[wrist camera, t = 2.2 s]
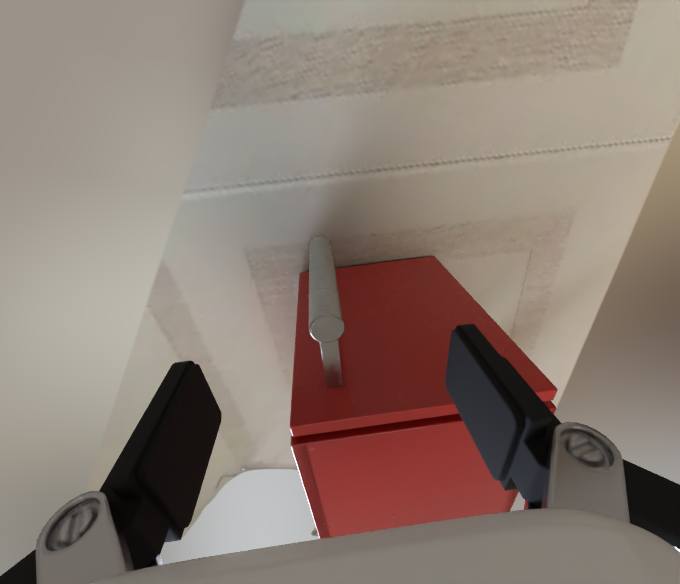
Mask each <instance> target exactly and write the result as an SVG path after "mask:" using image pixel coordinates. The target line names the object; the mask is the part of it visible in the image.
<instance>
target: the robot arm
mask: <svg viewBox="0 0 680 584" xmlns="http://www.w3.org/2000/svg"><path fill="white" fill-rule="evenodd" d="M445 385H446V389H447V391H448V393H449V395H450V397H451V399H452V400H453V402H454V404H455V406H456V408H457V410H458V412H459V414H460V416H461V418H462V420H463V422H464V424H465V425H466V427H467V429H468V431H469V433H470V435H471V437H472V439H473V441H474V443H475V445H476V447H477V449H478V451H479V452H480V454H481V456H482V458H483V460H484V462H485V464H486V466H487V468H488V470H489V472H490V474H491V475H492V477H493V478H494V479H495V480H496V481H498V480H499V481H500V483H501V485H502V487H503V489H504V490H505V491H507V490H514V489H518V490H519V492H520V494H521V495H522V497H523V498H524V499H525V506H524V510H518V511H510V512H502V513H494V514H486V515H478V516H470V517H463V518H457V519H450V520H443V521H436V522H430V523H423V524H416V525H410V526H403V527H396V528H389V529H383V530H376V531H370V532H363V533H357V534H350V535H344V536H337V537H331V538H324V539H318V540H311V541H305V542H298V543H292V544H285V545H279V546H273V547H266V548H261V549H254V550H248V551H242V552H235V553H229V554H223V555H216V556H210V557H204V558H198V559H192V560H187V561H181V562H176V563H170V564H164V565H163V563H162V560H161V557H160V553H161V550H162V547H163V544H164V542H171V541H177V540H181V537H182V534H183V531H184V528H186V527H188V526H189V524H190V522H191V519H192V516H193V513H194V510H195V506H196V503H197V500H198V496H199V493H200V490H201V486H202V483H203V480H204V476H205V473H206V470H207V466H208V463H209V460H210V456H211V453H212V450H213V446H214V443H215V440H216V436H217V433H218V430H219V426H220V423H221V411H220V409H219V407H218V404H217V402H216V400H215V398H214V396H213V394H212V392H211V389H210V387H209V385H208V383H207V381H206V379H205V377H204V374H203V372H202V370H201V368H200V366H199V365H198V364H194V362H193V361H185V362H177V363H174V364H173V365H172V366H171V368H170V369H169V371H168V373H167V375H166V376H165V378H164V380H163V382H162V383H161V385H160V387H159V389H158V390H157V392H156V394H155V396H154V397H153V399H152V401H151V402H150V404H149V406H148V408H147V409H146V411H145V413H144V414H143V416H142V418H141V420H140V421H139V423H138V425H137V426H136V428H135V430H134V432H133V433H132V435H131V437H130V439H129V440H128V442H127V444H126V446H125V447H124V449H123V451H122V452H121V454H120V456H119V458H118V459H117V461H116V463H115V465H114V466H113V468H112V470H111V472H110V473H109V475H108V477H107V479H106V480H105V482H104V484H103V485H102V487H101V489H100V491H90V492H87V493H84V494H81V495H79V496H77V497H76V498H74V499H72V500H70V501H69V502H68V503H66V504H65V505H64V506H62V507H61V508H60V509H59V510H58V511H57V512H56V513H55V514H54V515H53V516H52V517H51V518H50V519H49V521H48V522H47V523H46V525H45V526H44V528H43V529H42V531H41V533H40V535H39V537H38V539H37V544H36V549H35V550H34V551H32V552H31V553H30V554H29V555H27V556H26V557H25V558H23V559H22V560H21V561H20V562H18V563H17V564H16V565H14V566H13V567H12V568H11V569H9V570H8V571H7V572H5V573H4V574H3V575H2V576H0V584H680V485H679V484H677V483H675V482H672V481H670V480H668V479H666V478H664V477H661V476H659V475H657V474H655V473H652V472H650V471H648V470H646V469H644V468H641V467H639V466H637V465H635V464H632V463H630V462H628V461H626V460H624V459H622V457H621V454H620V452H619V450H618V449H617V447H616V446H615V445H614V444H613V443H612V442H611V441H610V440H609V439H608V438H607V437H606V436H605V435H603V434H601V433H600V432H598V431H597V430H595V429H593V428H591V427H589V426H587V425H583V424H579V423H575V422H566V423H561V422H560V421H559V420H558V419H557V418H556V417H555V415H554V414H553V413H552V412H551V411H550V409H549V408H548V407H547V406H546V405H545V404H544V402H543V401H542V400H541V399H540V398H539V396H538V395H537V394H536V393H535V392H534V391H533V389H532V388H531V387H530V386H529V385H528V383H527V382H526V381H525V380H524V379H523V377H522V376H521V375H520V374H519V373H518V372H517V370H516V369H515V368H514V367H513V366H512V364H511V363H510V362H509V361H508V360H507V359H506V358H505V357H503V356H501V355H500V354H499V353H498V352H497V351H496V349H495V348H494V347H493V346H492V345H491V343H490V342H489V341H488V340H487V339H486V337H485V336H484V335H483V334H482V333H481V331H480V330H479V329H478V328H477V327H476V325H475V324H472V323H471V324H464V325H457V326H456V328H455V330H452V331H451V337H450V345H449V353H448V361H447V368H446V376H445Z"/></svg>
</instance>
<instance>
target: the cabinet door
mask: <svg viewBox="0 0 680 584" xmlns="http://www.w3.org/2000/svg"><path fill="white" fill-rule="evenodd" d="M471 323H472V324H475V325H476V327H477V328H478V329H479V330H480V331H481V333H482V334H483V335H484V336H485V337H486V339H487V340H488V341H489V342H490V343H491V345H492V346H493V347H494V348H495V349H496V351H497V352H498V353H499V354H500V355H501V356H503V357H505V358H506V359H507V360H508V361H509V362H510V363H511V364H512V366H513V367H514V368H515V369H516V370H517V372H518V373H519V374H520V375H521V376H522V377H523V379H524V380H525V381H526V382H527V383H528V385H529V386H530V387H531V388H532V389H533V391H534V392H535V393H536V394H537V395H538V396H539V398H540V399H541V400H542V401H543V402H544V401H551V400H553V399H554V397H555V395H556V392H557V388H556V387H555V386H554V385H553V384H552V383H551V382H550V380H549V379H548V378H547V377H546V376H545V375H544V374H543V373H542V372H541V371H540V370H539V369H538V368H537V366H536V365H535V364H534V363H533V362H532V361H531V360H530V359H529V358H528V357H527V356H526V355H525V354H524V352H523V351H522V350H521V349H520V348H519V347H518V346H517V345H516V344H515V343H514V342H513V341H512V340H511V338H510V337H509V336H508V335H507V334H506V333H505V332H504V331H503V330H502V329H501V328H500V327H499V326H498V324H497V323H496V322H495V321H494V320H493V319H492V318H491V317H490V316H489V315H488V314H487V313H486V312H485V310H484V309H483V308H482V307H481V306H480V305H479V304H478V303H477V302H476V301H475V300H474V299H473V298H472V296H471V295H470V294H469V293H468V292H467V291H466V290H465V289H464V288H463V287H462V286H461V285H460V283H459V282H458V281H457V280H456V279H455V278H454V277H453V276H452V275H451V274H450V273H449V272H448V271H447V269H446V268H445V267H444V266H443V265H442V264H441V263H440V262H439V261H438V260H437V259H436V258H435V257H434V256H431V257H423V258H415V259H407V260H399V261H391V262H383V263H375V264H367V265H359V266H351V267H343V268H335V265H334V259H333V254H332V248H331V243H330V241H329V239H328V238H326V237H325V236H316V237H314V238H312V239H311V241H310V243H309V272H303V273H300V277H299V292H298V307H297V323H296V338H295V354H294V369H293V384H292V400H291V415H290V429H291V433H292V436H293V437H297V436H304V435H311V434H319V433H326V432H333V431H340V430H347V429H354V428H361V427H368V426H375V425H382V424H389V423H396V422H403V421H410V420H417V419H424V418H431V417H438V416H446V415H453V414H459V412H458V410H457V408H456V406H455V404H454V402H453V400H452V399H451V397H450V395H449V393H448V391H447V389H446V385H445V376H446V368H447V361H448V353H449V345H450V337H451V331H452V330H455V328H456V326H457V325H464V324H471Z"/></svg>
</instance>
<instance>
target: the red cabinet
mask: <svg viewBox="0 0 680 584" xmlns="http://www.w3.org/2000/svg"><path fill="white" fill-rule="evenodd" d="M544 404H545V405H546V406H547V407H548V408H549V409H550V411H551V412H552V413H553V414H554V413H555V411H556V406H555V405H554V404H553V403H552V402H551V401H544ZM291 448H292V452H293V455H294V458H295V461H296V464H297V468H298V471H299V474H300V477H301V480H302V484H303V487H304V490H305V493H306V496H307V500H308V503H309V506H310V509H311V513H312V516H313V519H314V522H315V525H316V529H317V532H318V535H319V538H320V539H324V538H331V537H337V536H344V535H350V534H357V533H363V532H370V531H376V530H383V529H389V528H396V527H403V526H410V525H416V524H423V523H430V522H436V521H443V520H450V519H457V518H463V517H470V516H478V515H486V514H494V513H502V512H510V510H511V508H512V505H513V503H514V501H515V499H516V497H517V494H518V492H519V490H518V489H514V490H507V491H505V490H504V489H503V487H502V485H501V483H500V481H499V480H498V481H496V480H495V479H494V478H493V477H492V475H491V474H490V472H489V470H488V468H487V466H486V464H485V462H484V460H483V458H482V456H481V454H480V452H479V451H478V449H477V447H476V445H475V443H474V441H473V439H472V437H471V435H470V433H469V431H468V429H467V427H466V425H465V424H464V422H463V420H462V418H461V416H460V414H453V415H446V416H438V417H431V418H424V419H417V420H410V421H403V422H396V423H389V424H382V425H375V426H368V427H361V428H354V429H347V430H340V431H333V432H326V433H319V434H311V435H304V436H297V437H293V436H292V433H291Z"/></svg>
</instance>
